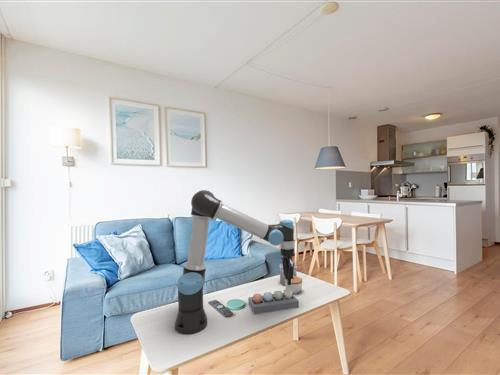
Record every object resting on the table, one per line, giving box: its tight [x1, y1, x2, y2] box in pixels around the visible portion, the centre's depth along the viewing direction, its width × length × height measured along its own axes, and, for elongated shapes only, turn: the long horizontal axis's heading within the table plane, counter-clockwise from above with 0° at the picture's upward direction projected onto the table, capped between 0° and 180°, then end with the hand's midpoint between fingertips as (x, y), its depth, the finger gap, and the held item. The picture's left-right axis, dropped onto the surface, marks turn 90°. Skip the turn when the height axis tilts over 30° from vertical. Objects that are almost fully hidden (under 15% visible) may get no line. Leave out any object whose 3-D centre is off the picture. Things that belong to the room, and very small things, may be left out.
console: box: [248, 292, 300, 315], centre depth 140 cm, size 25×12×4 cm, turn 104°
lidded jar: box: [284, 275, 303, 295], centre depth 157 cm, size 11×11×9 cm
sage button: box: [273, 290, 283, 301], centre depth 140 cm, size 4×4×4 cm
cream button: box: [283, 289, 292, 299], centre depth 142 cm, size 4×4×4 cm
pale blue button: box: [263, 291, 273, 302], centre depth 139 cm, size 4×4×4 cm
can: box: [279, 263, 298, 287], centre depth 170 cm, size 11×11×12 cm
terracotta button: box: [252, 293, 262, 304], centre depth 137 cm, size 4×4×4 cm
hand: (288, 289), depth 142 cm, fingers closed
